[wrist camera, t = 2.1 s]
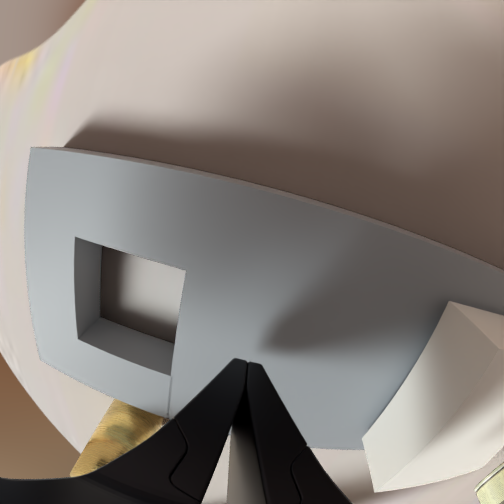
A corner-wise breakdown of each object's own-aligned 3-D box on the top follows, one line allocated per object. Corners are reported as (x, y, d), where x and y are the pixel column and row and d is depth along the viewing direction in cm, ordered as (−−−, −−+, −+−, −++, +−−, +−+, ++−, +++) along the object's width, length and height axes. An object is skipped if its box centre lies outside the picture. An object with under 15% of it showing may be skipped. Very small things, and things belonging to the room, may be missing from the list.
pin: (162, 432, 14) (132, 512, 8) (117, 415, 14) (77, 487, 8) (164, 403, 13) (126, 494, 7) (113, 383, 13) (63, 463, 7)
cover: (462, 431, 10) (480, 468, 7) (361, 438, 10) (374, 492, 7) (534, 324, 8) (569, 355, 5) (448, 300, 8) (499, 349, 5)
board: (505, 412, 12) (515, 427, 10) (60, 340, 12) (39, 361, 10) (568, 303, 10) (584, 315, 8) (62, 147, 9) (29, 147, 7)
